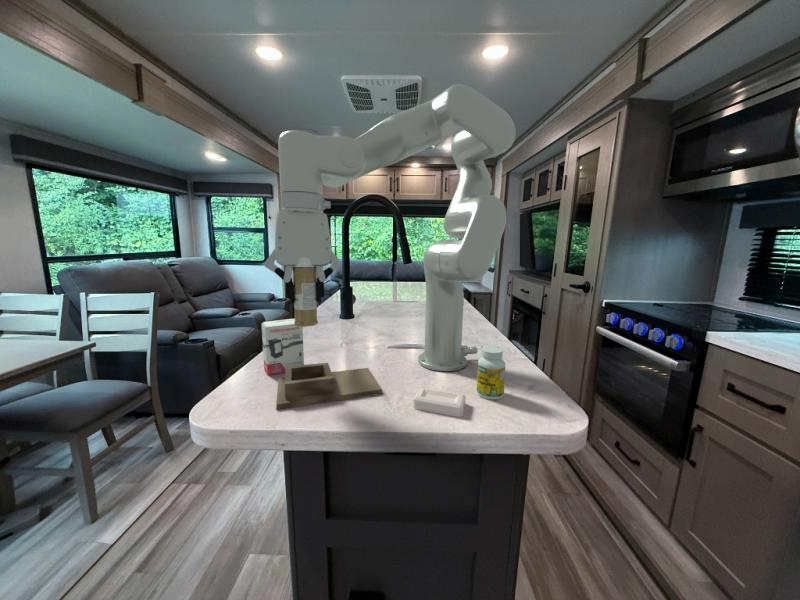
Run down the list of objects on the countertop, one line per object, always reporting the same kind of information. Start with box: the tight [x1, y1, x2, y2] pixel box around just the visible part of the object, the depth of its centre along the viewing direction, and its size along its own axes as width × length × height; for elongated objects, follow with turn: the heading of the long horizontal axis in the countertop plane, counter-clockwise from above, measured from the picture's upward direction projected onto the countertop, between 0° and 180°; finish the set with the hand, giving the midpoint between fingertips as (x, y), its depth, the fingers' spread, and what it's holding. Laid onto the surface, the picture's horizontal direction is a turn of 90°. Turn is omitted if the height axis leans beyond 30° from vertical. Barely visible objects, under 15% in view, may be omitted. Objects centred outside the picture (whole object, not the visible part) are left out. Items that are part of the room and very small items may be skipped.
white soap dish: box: [412, 387, 467, 418], centre depth 57 cm, size 5×9×2 cm, turn 71°
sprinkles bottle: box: [292, 258, 319, 328], centre depth 59 cm, size 5×5×13 cm
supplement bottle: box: [476, 346, 506, 401], centre depth 61 cm, size 5×5×10 cm
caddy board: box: [275, 362, 383, 410], centre depth 64 cm, size 20×12×4 cm, turn 110°
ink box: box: [261, 318, 305, 376], centre depth 73 cm, size 8×5×12 cm, turn 123°
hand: (305, 300), depth 60 cm, fingers closed on sprinkles bottle, 4 cm apart
